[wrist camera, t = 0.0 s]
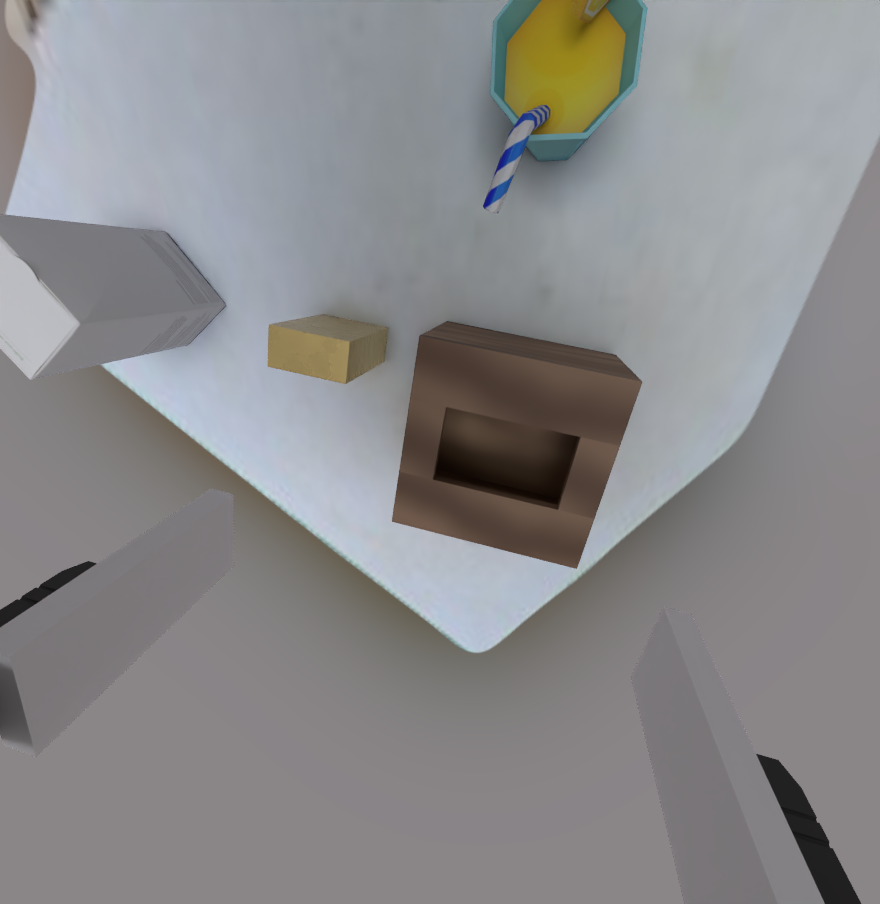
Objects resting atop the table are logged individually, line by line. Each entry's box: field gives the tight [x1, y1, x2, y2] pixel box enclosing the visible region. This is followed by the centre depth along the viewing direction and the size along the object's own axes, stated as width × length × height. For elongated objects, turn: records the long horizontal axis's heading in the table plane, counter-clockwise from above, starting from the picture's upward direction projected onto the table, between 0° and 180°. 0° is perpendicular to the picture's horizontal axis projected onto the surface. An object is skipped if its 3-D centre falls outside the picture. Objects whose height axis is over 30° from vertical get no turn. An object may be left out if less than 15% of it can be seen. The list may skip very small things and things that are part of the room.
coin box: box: [392, 321, 642, 569], centre depth 36 cm, size 14×14×10 cm
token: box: [268, 314, 388, 384], centre depth 36 cm, size 3×6×9 cm, turn 81°
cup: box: [483, 0, 647, 213], centre depth 26 cm, size 14×8×15 cm, turn 157°
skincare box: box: [0, 214, 226, 380], centre depth 35 cm, size 8×7×16 cm
